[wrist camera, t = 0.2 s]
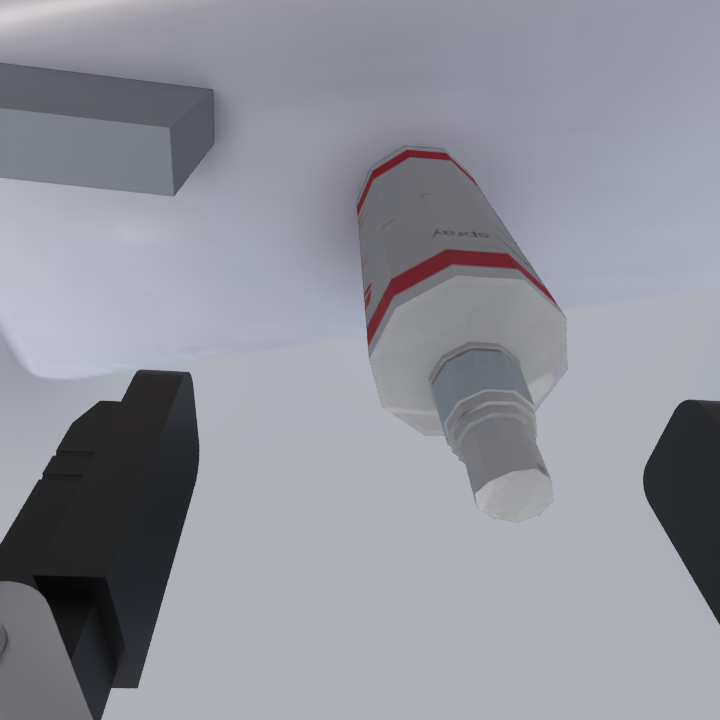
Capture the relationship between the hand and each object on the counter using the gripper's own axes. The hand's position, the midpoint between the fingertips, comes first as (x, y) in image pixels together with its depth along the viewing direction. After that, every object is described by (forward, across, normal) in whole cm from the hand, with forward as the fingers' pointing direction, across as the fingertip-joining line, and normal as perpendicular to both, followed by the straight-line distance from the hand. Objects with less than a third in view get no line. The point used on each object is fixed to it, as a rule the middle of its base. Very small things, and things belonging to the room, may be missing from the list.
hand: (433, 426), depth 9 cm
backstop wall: (+29, +17, +1) cm, 33 cm away
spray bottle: (+29, -4, +6) cm, 30 cm away
